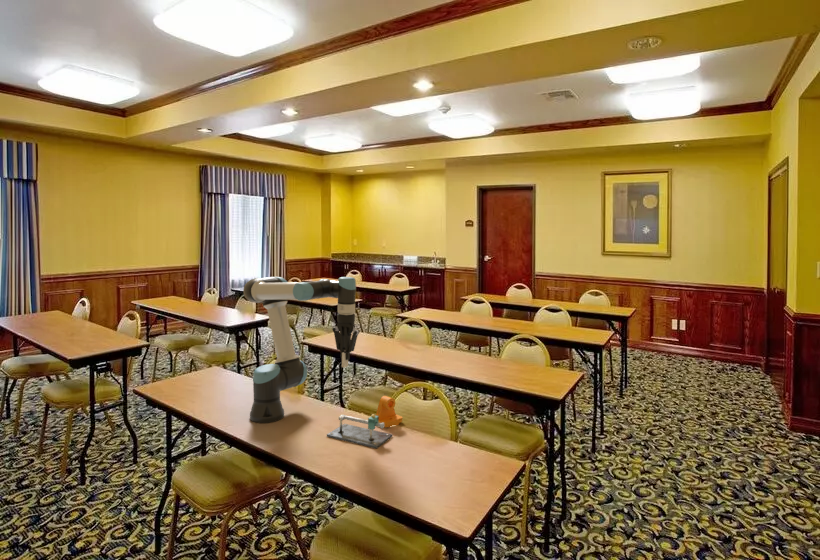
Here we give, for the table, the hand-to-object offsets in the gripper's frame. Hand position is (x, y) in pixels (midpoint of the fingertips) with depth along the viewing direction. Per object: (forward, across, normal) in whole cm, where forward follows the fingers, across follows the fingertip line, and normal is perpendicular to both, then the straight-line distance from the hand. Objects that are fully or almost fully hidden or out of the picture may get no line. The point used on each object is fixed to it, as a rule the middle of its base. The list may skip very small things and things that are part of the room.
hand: (344, 366), depth 207 cm
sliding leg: (+25, +19, -6) cm, 32 cm away
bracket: (+27, +16, +12) cm, 34 cm away
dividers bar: (+25, +13, -7) cm, 30 cm away
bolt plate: (+26, +13, -6) cm, 30 cm away
